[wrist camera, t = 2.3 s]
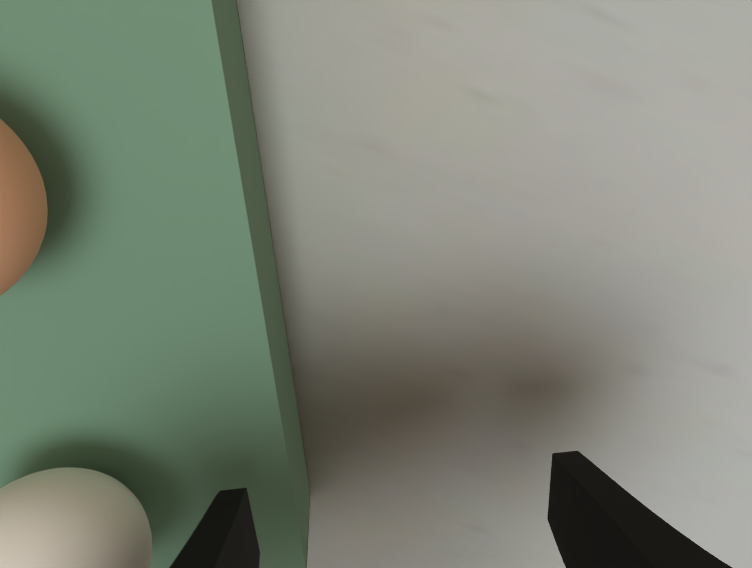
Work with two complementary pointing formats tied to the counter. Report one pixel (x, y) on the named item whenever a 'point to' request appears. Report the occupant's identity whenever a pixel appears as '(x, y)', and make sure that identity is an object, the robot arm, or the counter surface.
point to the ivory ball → (72, 522)
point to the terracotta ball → (19, 208)
